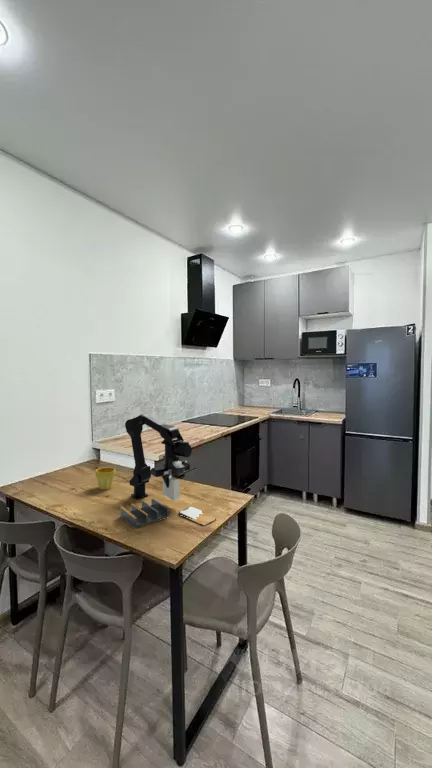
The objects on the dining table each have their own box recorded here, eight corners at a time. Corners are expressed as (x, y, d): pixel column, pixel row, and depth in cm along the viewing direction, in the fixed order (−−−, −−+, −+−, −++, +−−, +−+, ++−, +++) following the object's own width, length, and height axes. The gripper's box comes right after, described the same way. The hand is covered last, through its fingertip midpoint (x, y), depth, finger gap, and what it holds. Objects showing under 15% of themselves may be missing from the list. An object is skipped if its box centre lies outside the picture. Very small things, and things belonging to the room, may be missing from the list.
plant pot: (118, 484, 178) (118, 467, 178) (110, 491, 168) (110, 473, 167) (100, 483, 179) (100, 466, 179) (91, 490, 169) (91, 472, 168)
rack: (120, 516, 139) (120, 506, 139) (153, 506, 149) (153, 497, 149) (134, 528, 128) (134, 518, 128) (168, 517, 139) (169, 507, 139)
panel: (162, 493, 153) (162, 475, 153) (167, 492, 155) (168, 474, 155) (173, 500, 146) (173, 481, 145) (179, 498, 148) (179, 479, 147)
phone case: (217, 520, 138) (191, 509, 148) (217, 516, 138) (191, 505, 148) (203, 528, 131) (177, 515, 142) (203, 524, 131) (177, 512, 141)
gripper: (162, 461, 138) (162, 496, 138) (197, 454, 150) (196, 487, 150) (149, 455, 146) (149, 489, 147) (183, 449, 158) (183, 480, 159)
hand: (170, 486), depth 150 cm, fingers closed on panel, 3 cm apart
